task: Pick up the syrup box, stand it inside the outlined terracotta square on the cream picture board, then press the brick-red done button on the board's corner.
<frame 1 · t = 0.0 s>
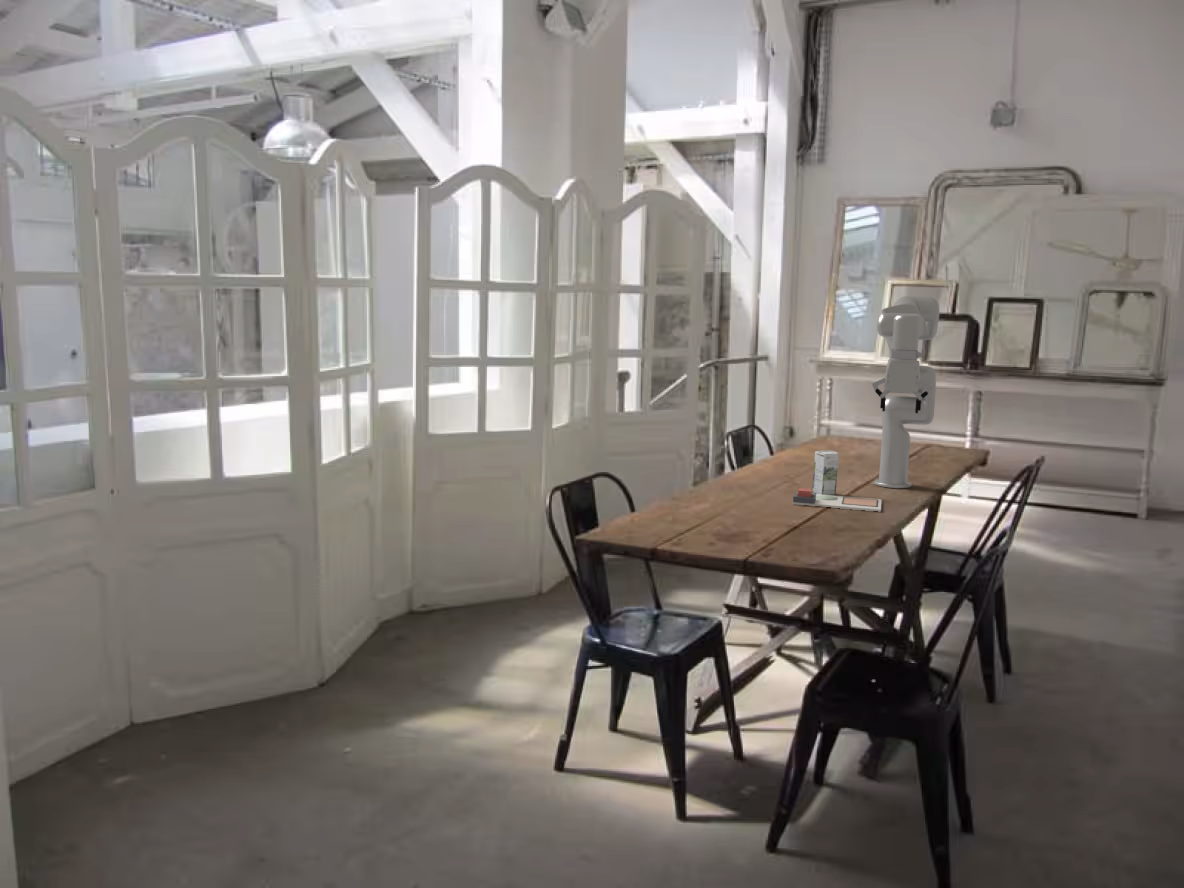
hand: (899, 411, 299), 31 cm above the table, tool pointing down, fingers open, 9 cm apart
done button: (805, 492, 313), point 3 cm above the table, slide at 0.0 cm
picture board: (837, 503, 314), on the table
syrup box: (824, 494, 328), on the table
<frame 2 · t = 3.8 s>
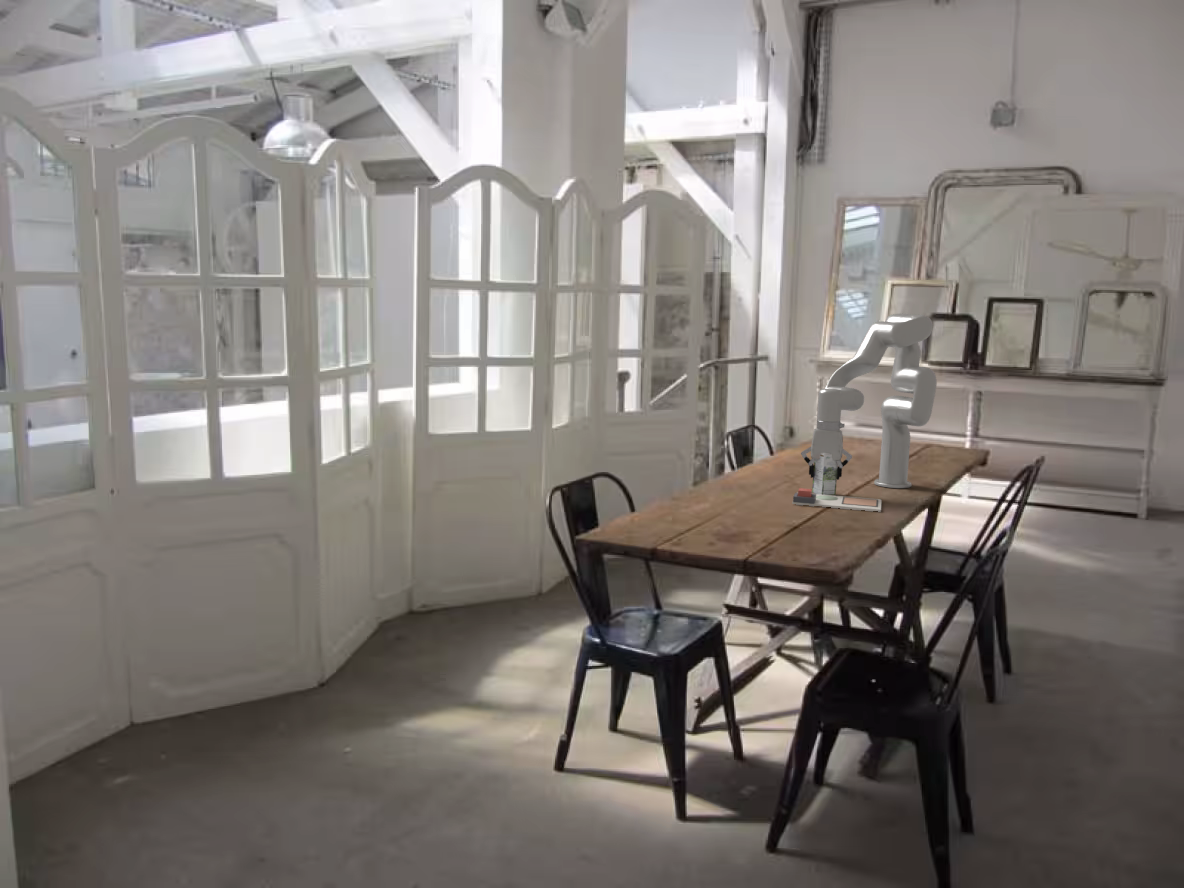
hand: (824, 477, 327), 6 cm above the table, tool pointing down, fingers closed on syrup box, 8 cm apart
syrup box: (823, 494, 328), on the table, touching gripper
everything else where it was.
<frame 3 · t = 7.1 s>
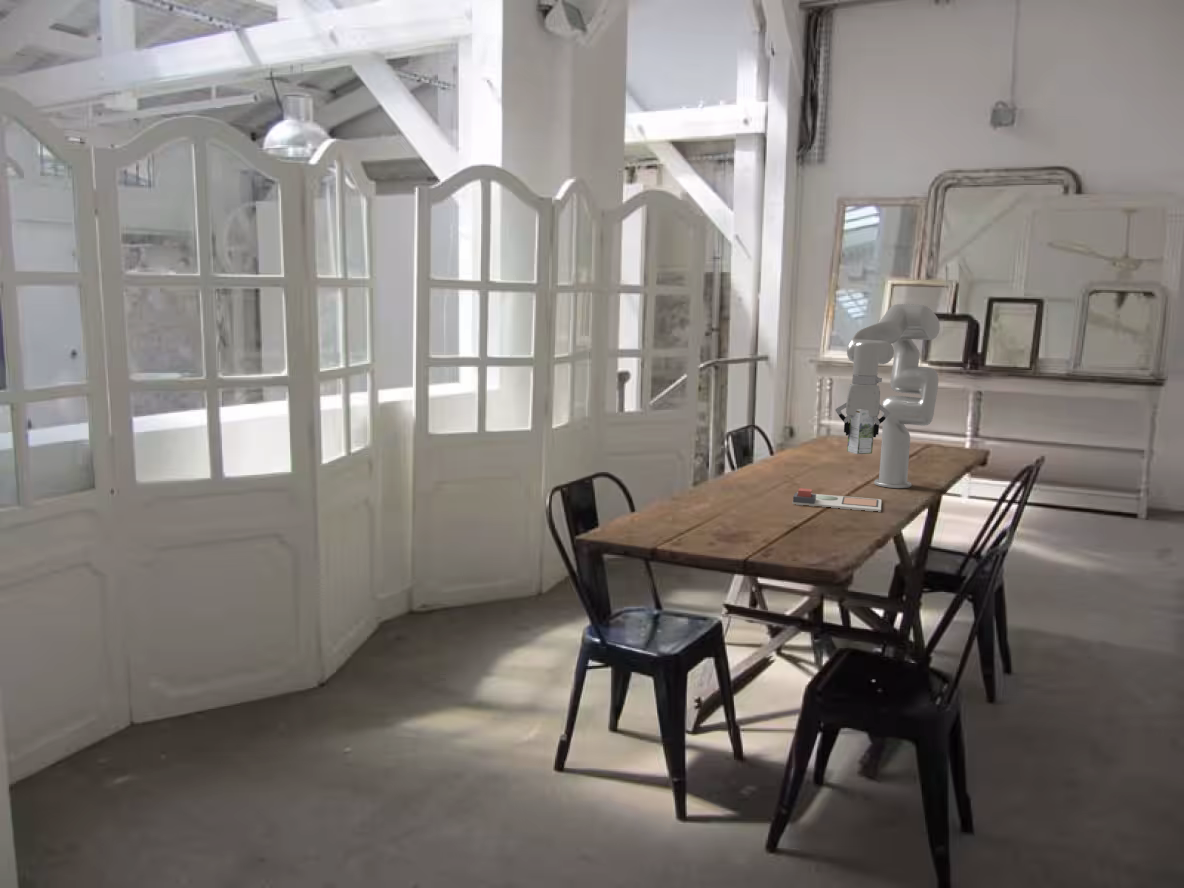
hand: (860, 435, 311), 22 cm above the table, tool pointing down, fingers closed on syrup box, 8 cm apart
syrup box: (859, 453, 312), point 16 cm above the table, touching gripper
everything else where it was.
when the fingers open (8 cm above the table, at t = 10.5 s): syrup box drops 1 cm, resting on picture board.
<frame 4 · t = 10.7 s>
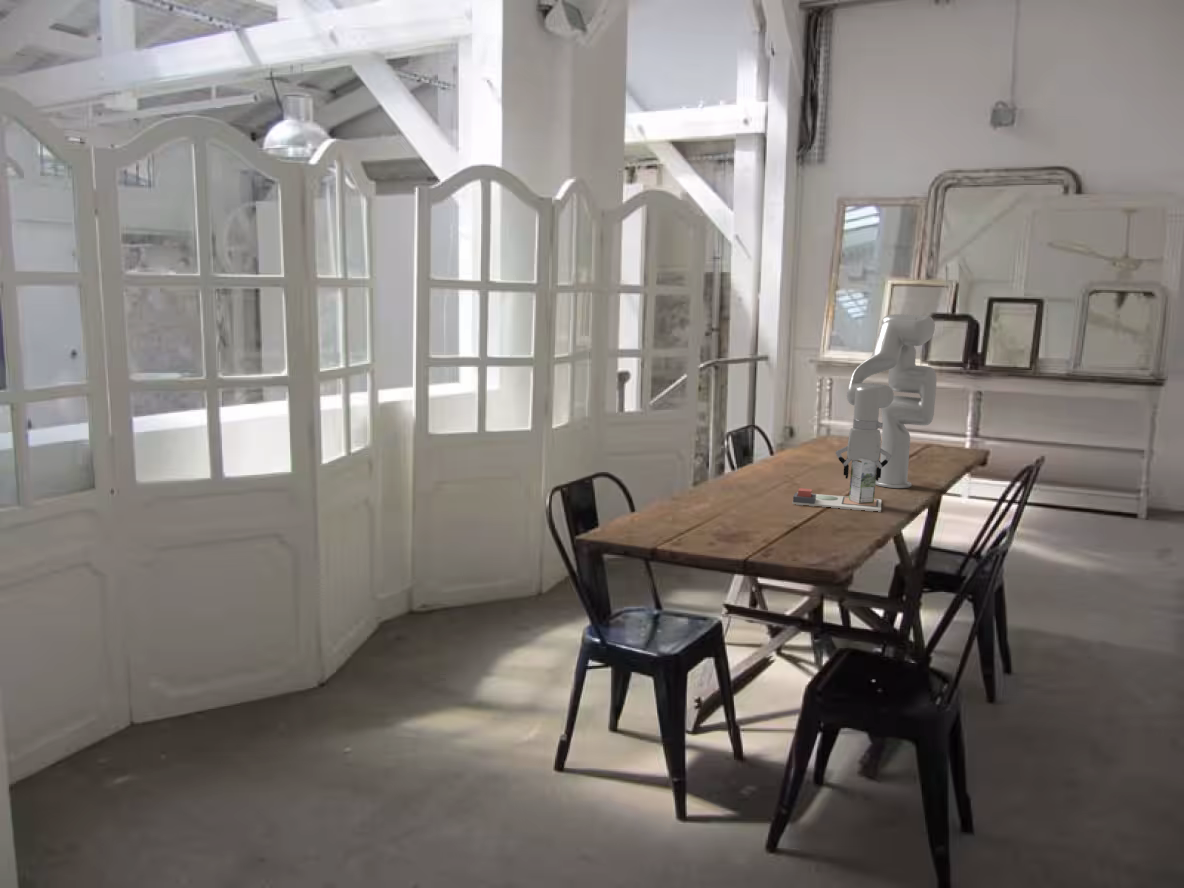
hand: (861, 478, 312), 8 cm above the table, tool pointing down, fingers open, 9 cm apart
syrup box: (861, 502, 313), point 1 cm above the table, touching gripper, picture board
everything else where it was.
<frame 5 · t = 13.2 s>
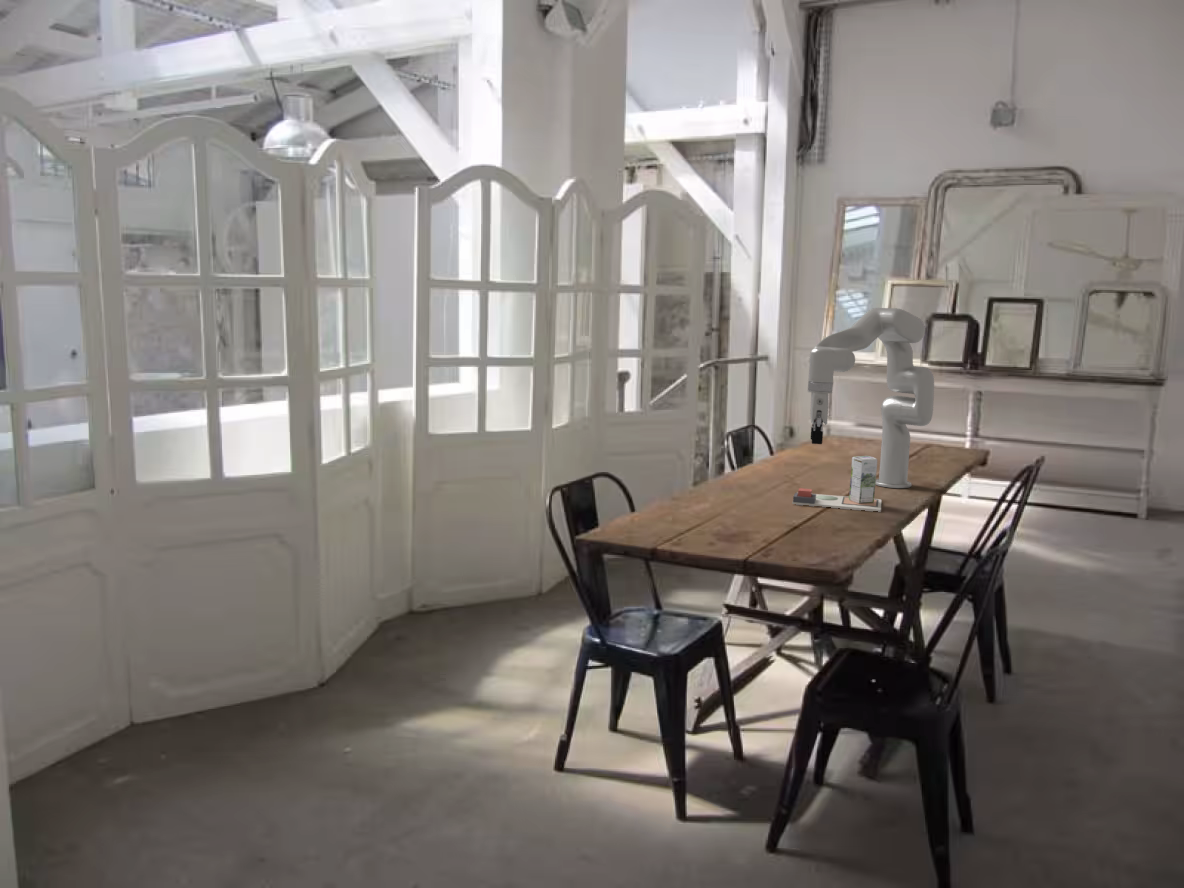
hand: (816, 441, 310), 20 cm above the table, tool pointing down, fingers open, 9 cm apart
syrup box: (861, 502, 313), point 1 cm above the table, touching picture board
everything else where it was.
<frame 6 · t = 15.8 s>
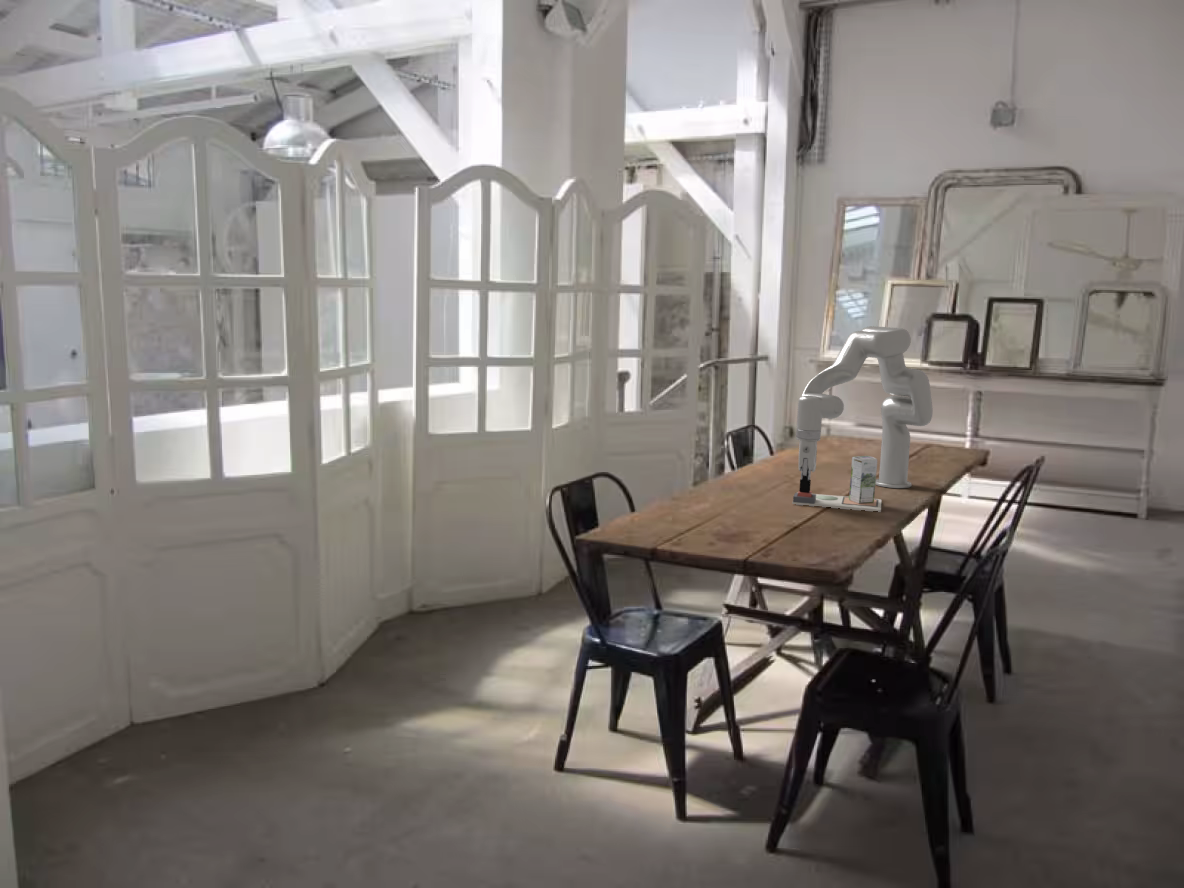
hand: (804, 491, 312), 4 cm above the table, tool pointing down, fingers closed
done button: (804, 495, 313), point 3 cm above the table, slide at 0.7 cm, touching gripper
everything else where it was.
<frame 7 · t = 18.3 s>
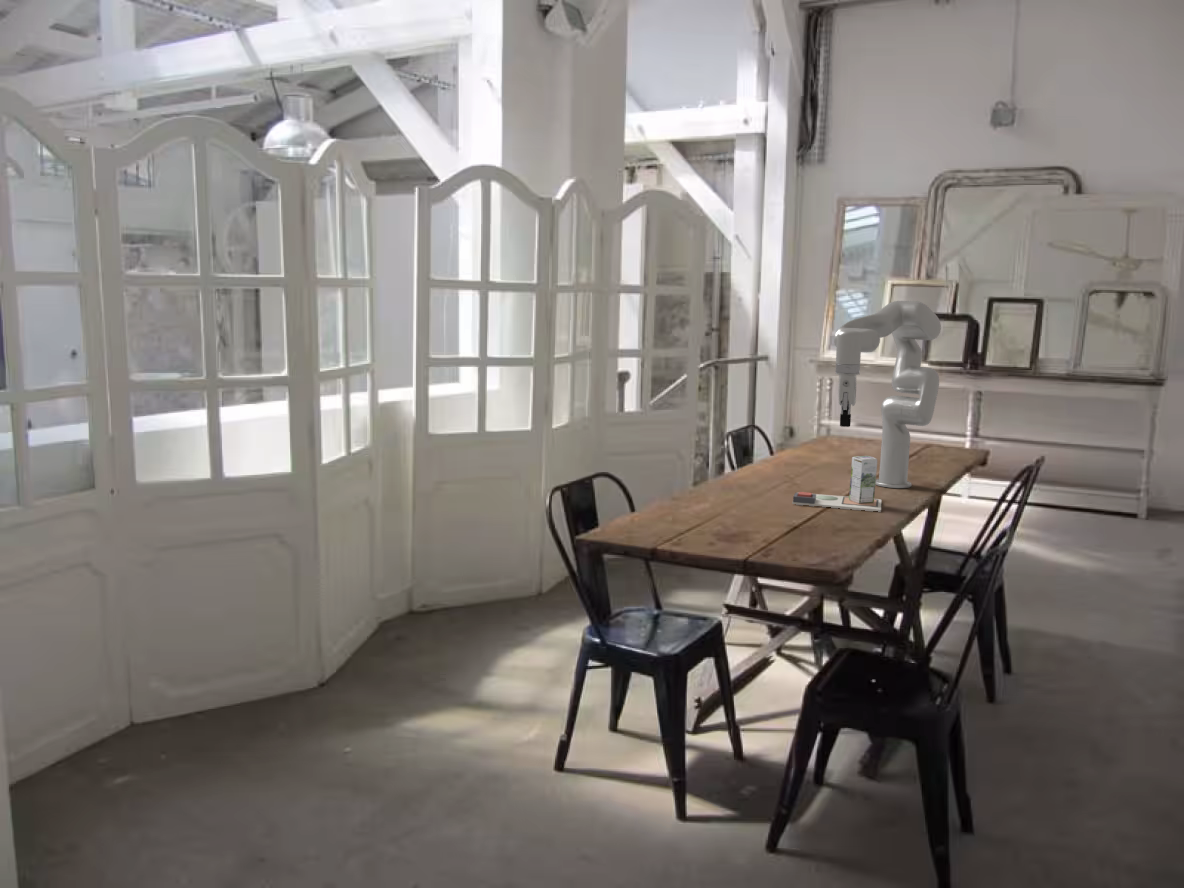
hand: (845, 426, 315), 24 cm above the table, tool pointing down, fingers closed
done button: (804, 496, 313), point 2 cm above the table, slide at 1.2 cm
everything else where it was.
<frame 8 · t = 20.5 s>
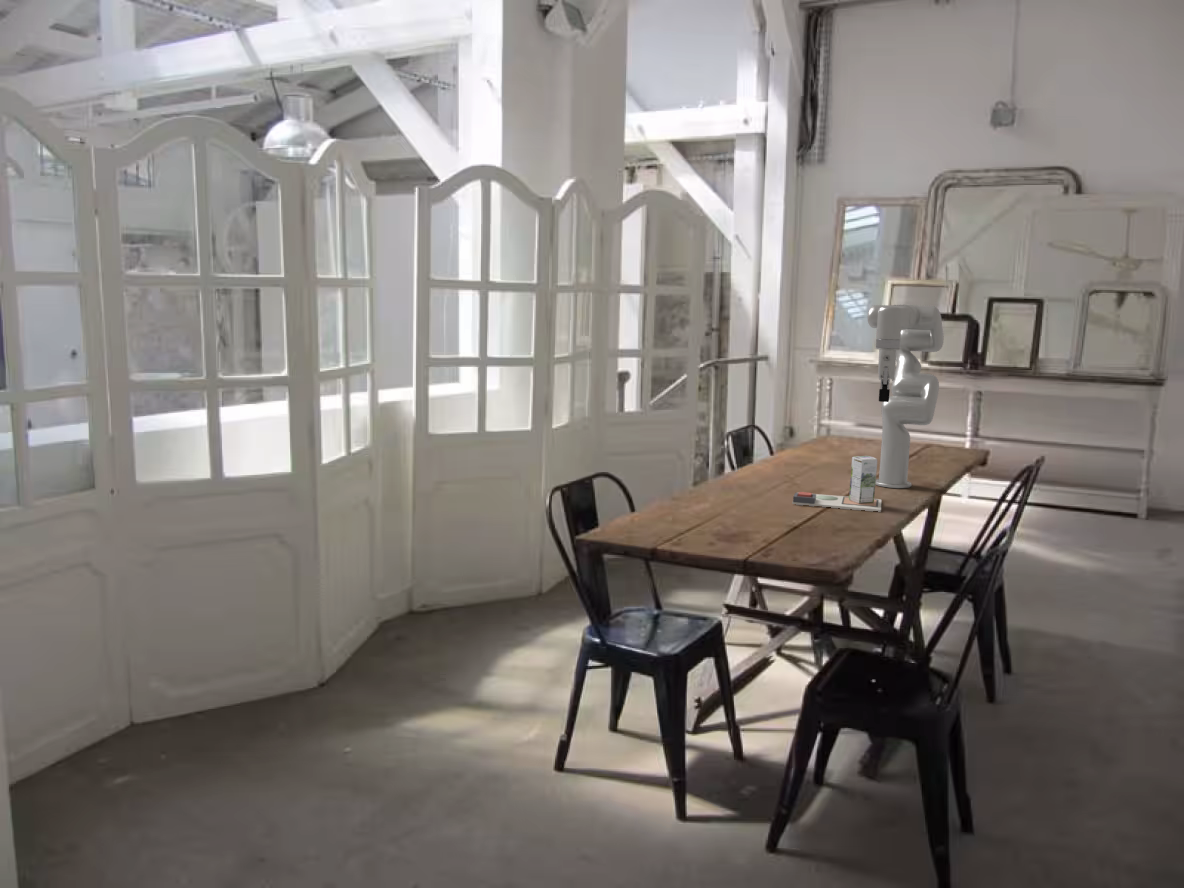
hand: (883, 401, 319), 32 cm above the table, tool pointing down, fingers closed
nothing on the table moved.
at the end: syrup box 0.4 cm from the target spot, point 0.7 cm above the table; syrup box tilted 0°; done button slide at 1.2 cm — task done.
